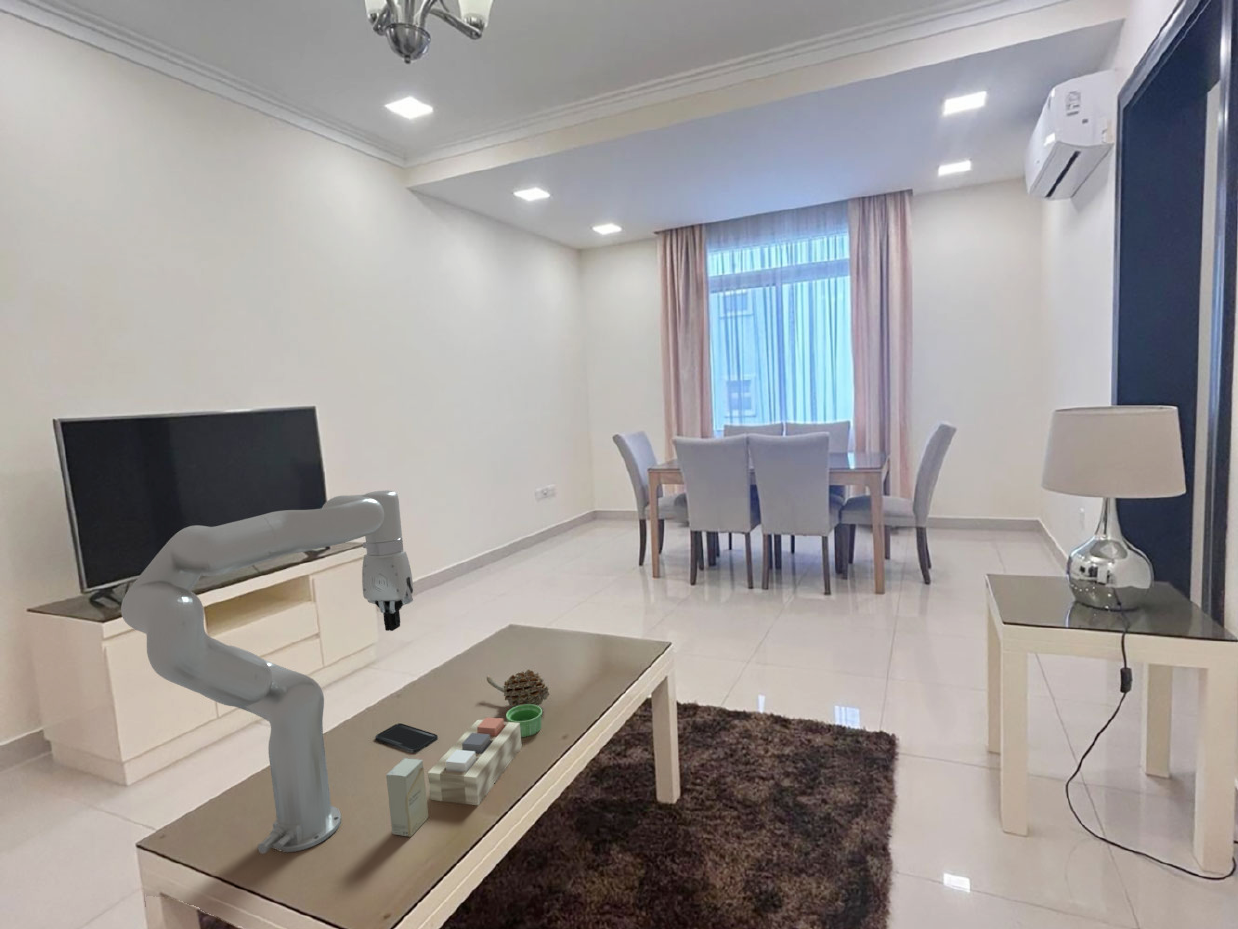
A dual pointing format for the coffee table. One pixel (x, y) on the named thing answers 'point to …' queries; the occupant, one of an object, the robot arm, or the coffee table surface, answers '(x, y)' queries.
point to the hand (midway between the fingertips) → (392, 628)
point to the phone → (406, 738)
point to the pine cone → (523, 688)
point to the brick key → (491, 726)
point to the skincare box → (407, 796)
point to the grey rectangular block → (477, 743)
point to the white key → (461, 761)
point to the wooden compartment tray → (475, 768)
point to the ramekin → (526, 718)
